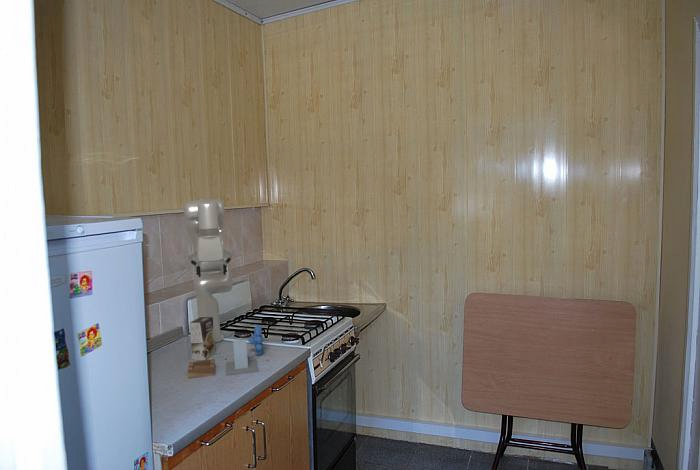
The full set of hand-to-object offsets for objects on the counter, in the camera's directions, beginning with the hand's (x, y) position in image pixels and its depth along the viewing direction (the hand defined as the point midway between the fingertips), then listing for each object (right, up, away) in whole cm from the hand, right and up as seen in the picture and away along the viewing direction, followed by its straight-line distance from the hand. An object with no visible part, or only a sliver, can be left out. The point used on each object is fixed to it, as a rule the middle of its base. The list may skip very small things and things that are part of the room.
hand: (212, 275), depth 191 cm
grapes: (+15, -35, +13) cm, 40 cm away
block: (+12, -36, -2) cm, 38 cm away
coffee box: (-7, -36, +13) cm, 39 cm away
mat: (+12, -36, -2) cm, 38 cm away
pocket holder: (-2, -37, -6) cm, 38 cm away
